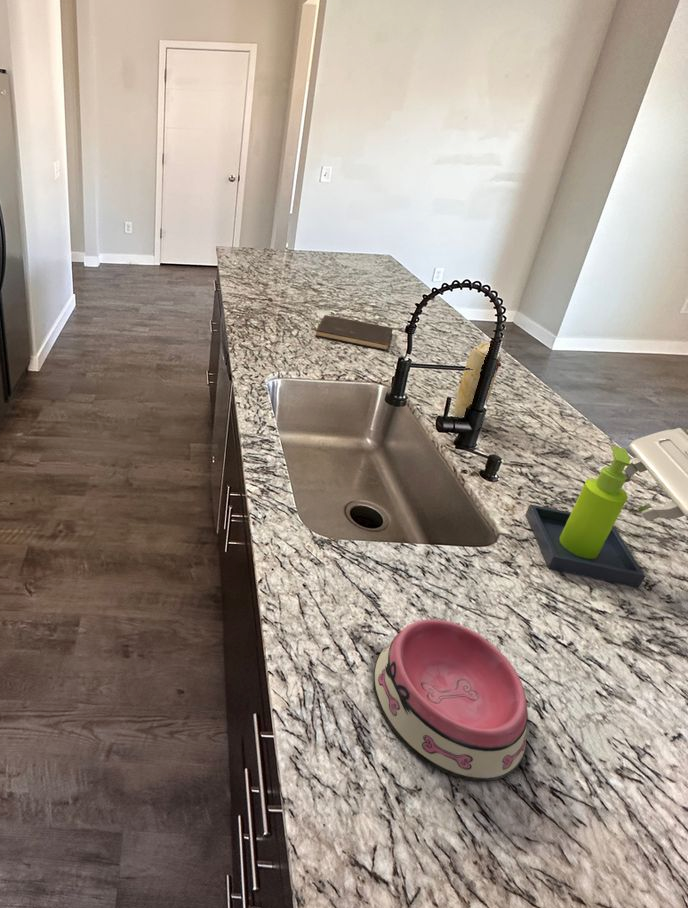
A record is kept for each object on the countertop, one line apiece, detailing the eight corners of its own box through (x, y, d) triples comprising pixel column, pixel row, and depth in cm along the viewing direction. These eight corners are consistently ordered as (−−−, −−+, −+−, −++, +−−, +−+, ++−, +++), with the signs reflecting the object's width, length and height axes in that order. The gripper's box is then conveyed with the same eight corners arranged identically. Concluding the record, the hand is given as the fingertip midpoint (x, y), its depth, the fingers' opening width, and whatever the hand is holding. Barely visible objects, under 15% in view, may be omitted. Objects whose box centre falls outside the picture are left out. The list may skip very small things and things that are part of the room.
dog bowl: (352, 641, 79) (361, 609, 76) (472, 636, 81) (485, 605, 78) (410, 787, 63) (424, 754, 60) (559, 778, 64) (580, 745, 61)
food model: (484, 430, 132) (509, 357, 123) (454, 424, 133) (477, 352, 125) (477, 410, 140) (500, 340, 131) (449, 405, 142) (470, 336, 133)
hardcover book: (387, 351, 170) (388, 344, 169) (314, 336, 179) (315, 330, 178) (391, 333, 184) (393, 327, 183) (324, 320, 192) (325, 314, 191)
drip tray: (604, 531, 102) (610, 519, 101) (638, 588, 90) (645, 576, 89) (525, 515, 105) (529, 504, 104) (548, 568, 93) (553, 556, 92)
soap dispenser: (595, 538, 99) (640, 450, 90) (599, 564, 93) (647, 472, 85) (558, 526, 101) (598, 438, 93) (560, 549, 96) (602, 459, 87)
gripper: (678, 411, 93) (593, 447, 99) (758, 486, 75) (648, 524, 81) (697, 438, 94) (611, 471, 100) (780, 517, 76) (670, 552, 82)
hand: (628, 495), depth 91 cm, fingers open, 8 cm apart
